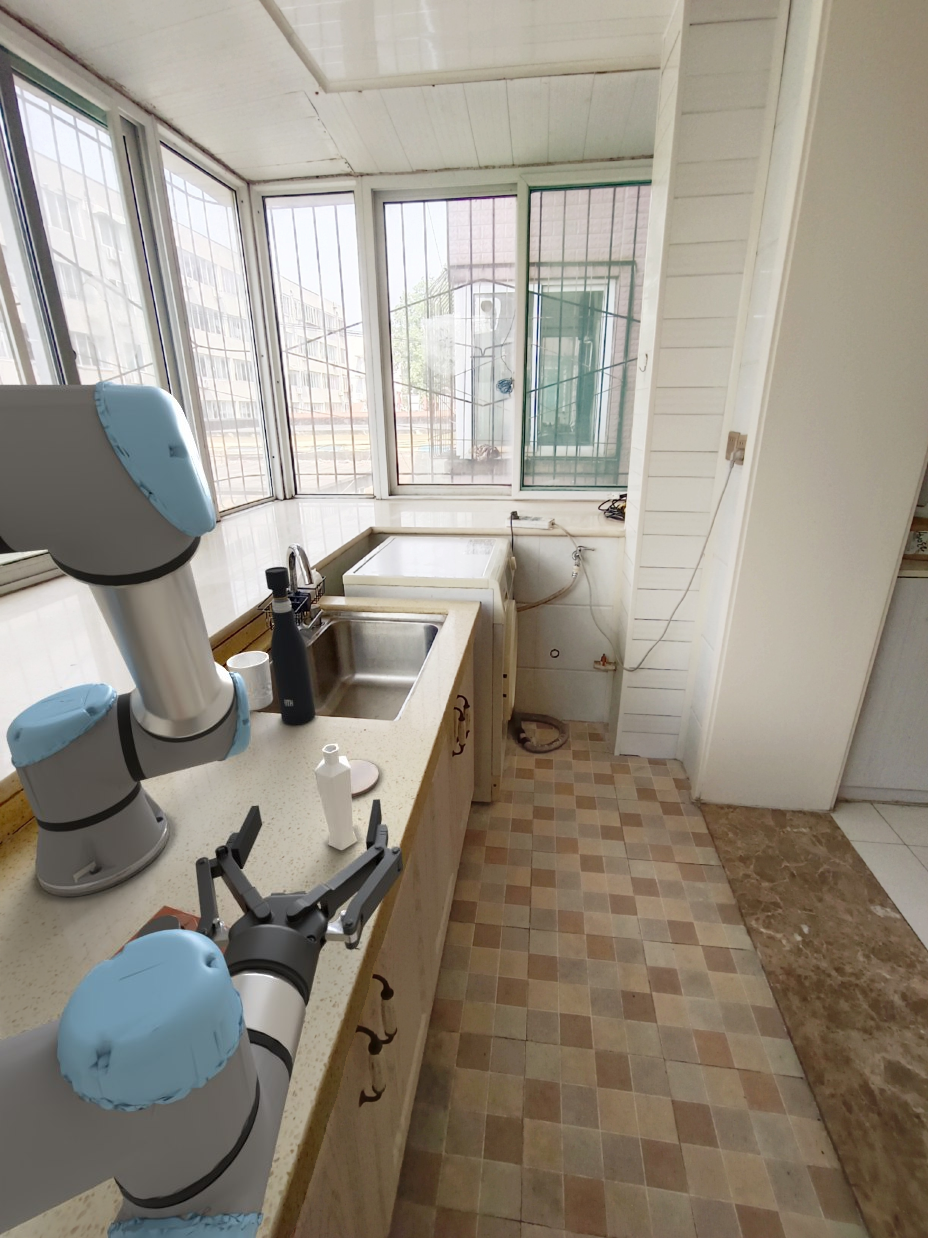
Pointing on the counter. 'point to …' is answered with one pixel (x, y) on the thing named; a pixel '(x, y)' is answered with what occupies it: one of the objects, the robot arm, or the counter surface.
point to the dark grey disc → (160, 925)
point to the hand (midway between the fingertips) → (317, 812)
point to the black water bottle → (289, 654)
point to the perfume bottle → (336, 796)
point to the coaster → (362, 776)
